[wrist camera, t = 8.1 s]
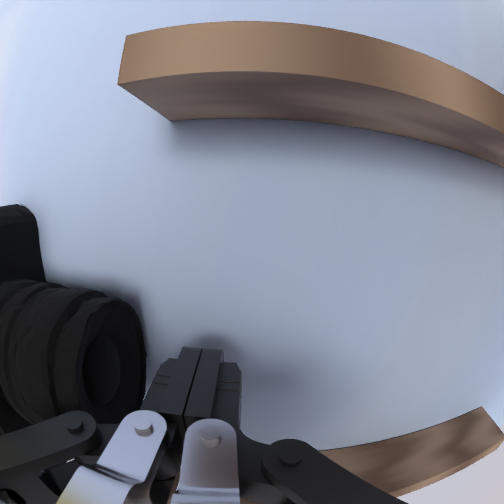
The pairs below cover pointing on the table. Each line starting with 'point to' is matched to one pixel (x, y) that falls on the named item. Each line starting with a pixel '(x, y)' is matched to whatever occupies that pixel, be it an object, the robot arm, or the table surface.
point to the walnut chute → (341, 113)
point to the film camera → (61, 340)
